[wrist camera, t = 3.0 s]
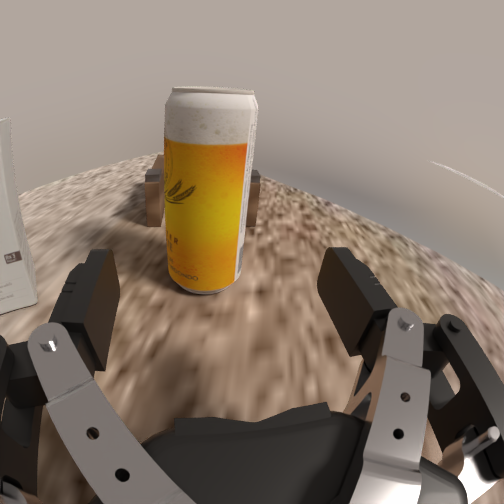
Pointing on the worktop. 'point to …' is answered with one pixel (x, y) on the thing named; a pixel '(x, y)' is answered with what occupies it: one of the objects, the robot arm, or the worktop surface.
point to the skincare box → (13, 236)
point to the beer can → (207, 183)
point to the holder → (157, 197)
